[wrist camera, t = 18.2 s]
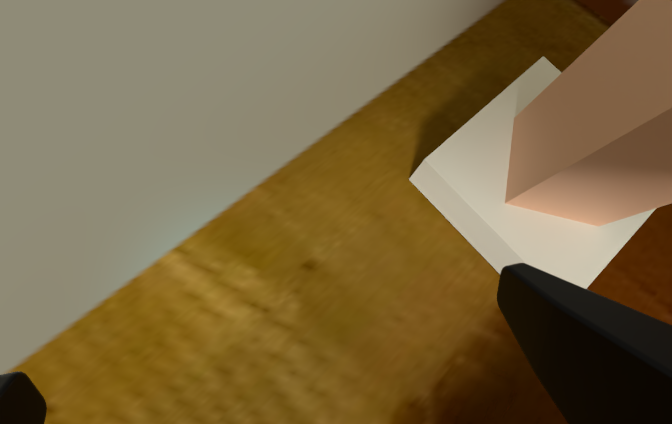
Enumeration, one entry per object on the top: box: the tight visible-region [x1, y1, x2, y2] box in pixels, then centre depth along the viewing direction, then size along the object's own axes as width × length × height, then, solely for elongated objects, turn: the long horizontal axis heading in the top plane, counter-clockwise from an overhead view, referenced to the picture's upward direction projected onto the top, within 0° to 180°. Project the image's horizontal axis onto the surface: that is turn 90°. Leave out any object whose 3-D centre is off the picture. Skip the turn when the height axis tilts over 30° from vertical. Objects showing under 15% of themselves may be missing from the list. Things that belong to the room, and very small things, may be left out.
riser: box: [409, 56, 656, 289], centre depth 22 cm, size 10×10×3 cm
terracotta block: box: [505, 0, 672, 226], centre depth 15 cm, size 5×5×13 cm
